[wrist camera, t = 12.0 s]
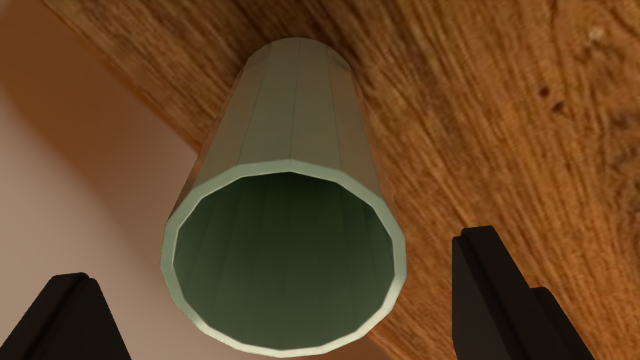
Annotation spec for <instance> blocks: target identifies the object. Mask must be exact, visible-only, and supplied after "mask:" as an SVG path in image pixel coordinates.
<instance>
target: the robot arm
mask: <svg viewBox="0 0 640 360" xmlns="http://www.w3.org/2000/svg"><path fill="white" fill-rule="evenodd" d="M452 338H453V345H454V349H455V353H456V356H457V359H458V360H595V359H594V358H593V356H592V354H591V353H590V351H589V350H588V348H587V347H586V345H585V344H584V342H583V341H582V339H581V338H580V336H579V334H578V333H577V331H576V330H575V328H574V327H573V325H572V324H571V322H570V321H569V319H568V318H567V316H566V314H565V313H564V311H563V310H562V308H561V307H560V305H559V304H558V302H557V301H556V299H555V298H554V296H553V295H552V293H551V292H550V291H549V290H548V289H547V288H545V287H537V288H530V287H529V286H528V284H527V282H526V281H525V279H524V277H523V276H522V274H521V272H520V271H519V269H518V267H517V266H516V264H515V262H514V261H513V259H512V257H511V256H510V254H509V252H508V251H507V249H506V247H505V246H504V244H503V242H502V241H501V239H500V237H499V236H498V234H497V232H496V231H495V229H494V228H493V227H492V226H490V225H489V226H480V227H472V228H463V229H462V232H461V236H457V237H453V240H452ZM0 360H131V357H130V355H129V353H128V351H127V349H126V346H125V344H124V341H123V339H122V337H121V335H120V332H119V330H118V328H117V325H116V323H115V321H114V319H113V316H112V314H111V312H110V309H109V307H108V305H107V302H106V300H105V298H104V296H103V293H102V291H101V289H100V286H99V284H98V283H97V281H96V280H95V279H93V278H89V276H88V275H87V274H85V273H82V272H80V273H71V274H62V275H56V276H53V277H52V278H51V279H50V280H49V281H48V283H47V284H46V286H45V287H44V288H43V290H42V291H41V292H40V294H39V295H38V296H37V298H36V299H35V301H34V302H33V303H32V305H31V306H30V307H29V309H28V310H27V312H26V313H25V314H24V316H23V317H22V319H21V320H20V321H19V323H18V324H17V326H16V327H15V328H14V330H13V331H12V332H11V334H10V335H9V336H8V338H7V339H6V341H5V342H4V343H3V345H2V346H1V347H0Z"/></svg>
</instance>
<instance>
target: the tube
mask: <svg viewBox="0 0 640 360" xmlns="http://www.w3.org/2000/svg"><path fill="white" fill-rule="evenodd" d="M160 267H161V270H162V272H163V275H164V278H165V281H166V284H167V287H168V290H169V292H170V295H171V298H172V301H173V302H174V304H175V305H176V306H177V307H178V308H179V309H180V310H181V311H182V312H183V313H184V314H185V315H186V316H187V317H188V318H189V319H190V321H191V322H192V323H193V324H194V325H195V326H196V327H197V328H198V329H199V330H200V331H201V332H203V333H205V334H207V335H209V336H211V337H213V338H215V339H217V340H219V341H221V342H223V343H224V344H227V345H228V346H230V347H232V348H234V349H236V350H239V351H244V352H249V353H256V354H260V355H266V356H272V357H277V358H286V357H296V356H305V355H315V354H323V353H326V352H329V351H331V350H333V349H336V348H338V347H341V346H343V345H345V344H348V343H350V342H352V341H355V340H357V339H359V338H361V337H363V336H364V335H365V334H366V333H368V332H369V331H370V330H371V329H372V328H373V327H374V326H375V325H376V324H377V323H378V322H380V321H381V320H382V319H383V318H384V317H385V316H386V315H387V314H388V313H389V312H391V310H392V308H393V306H394V304H395V302H396V299H397V297H398V295H399V293H400V290H401V288H402V286H403V284H404V282H405V279H406V277H407V258H406V239H405V234H404V231H403V228H402V224H401V221H400V218H399V214H398V211H397V208H396V204H395V201H394V198H393V195H392V191H391V188H390V185H389V181H388V178H387V175H386V171H385V168H384V165H383V161H382V158H381V155H380V152H379V148H378V145H377V142H376V138H375V135H374V132H373V128H372V125H371V122H370V118H369V115H368V112H367V109H366V105H365V102H364V99H363V95H362V92H361V89H360V85H359V83H358V81H357V79H356V77H355V75H354V73H353V70H352V69H351V67H350V66H349V64H348V63H347V62H346V60H345V59H344V58H343V57H342V56H341V55H340V54H339V53H338V52H337V51H335V50H334V49H332V48H331V47H329V46H327V45H326V44H324V43H322V42H319V41H316V40H313V39H308V38H299V37H292V38H284V39H279V40H276V41H273V42H270V43H268V44H266V45H264V46H263V47H261V48H260V49H258V50H257V51H256V52H255V53H253V54H252V55H251V56H250V57H249V58H248V60H247V61H246V62H245V63H244V65H243V67H242V68H241V70H240V71H239V73H238V74H237V76H236V78H235V80H234V82H233V84H232V86H231V88H230V90H229V92H228V95H227V97H226V99H225V101H224V103H223V105H222V107H221V109H220V111H219V113H218V116H217V118H216V120H215V122H214V124H213V126H212V128H211V130H210V132H209V134H208V137H207V139H206V141H205V143H204V145H203V147H202V149H201V151H200V153H199V155H198V158H197V160H196V162H195V164H194V166H193V168H192V170H191V172H190V174H189V176H188V179H187V181H186V183H185V185H184V187H183V189H182V191H181V193H180V195H179V197H178V200H177V202H176V204H175V206H174V208H173V210H172V212H171V214H170V216H169V218H168V220H167V223H166V225H165V231H164V237H163V244H162V251H161V258H160Z"/></svg>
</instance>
